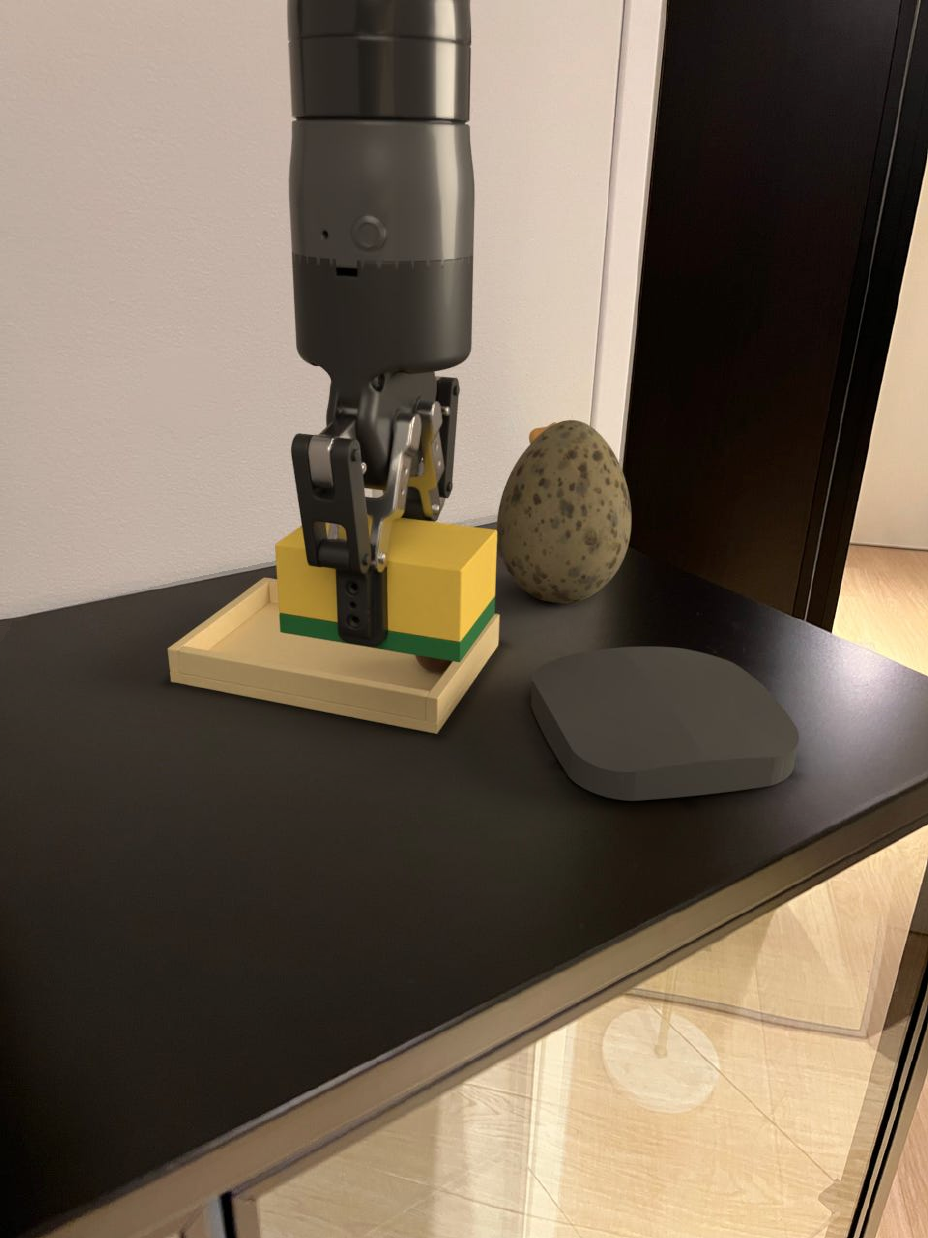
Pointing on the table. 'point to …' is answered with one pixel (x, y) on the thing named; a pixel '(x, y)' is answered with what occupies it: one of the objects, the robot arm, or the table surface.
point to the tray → (320, 667)
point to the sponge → (402, 588)
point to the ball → (433, 664)
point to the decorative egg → (565, 515)
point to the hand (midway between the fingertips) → (388, 613)
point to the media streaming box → (661, 723)
